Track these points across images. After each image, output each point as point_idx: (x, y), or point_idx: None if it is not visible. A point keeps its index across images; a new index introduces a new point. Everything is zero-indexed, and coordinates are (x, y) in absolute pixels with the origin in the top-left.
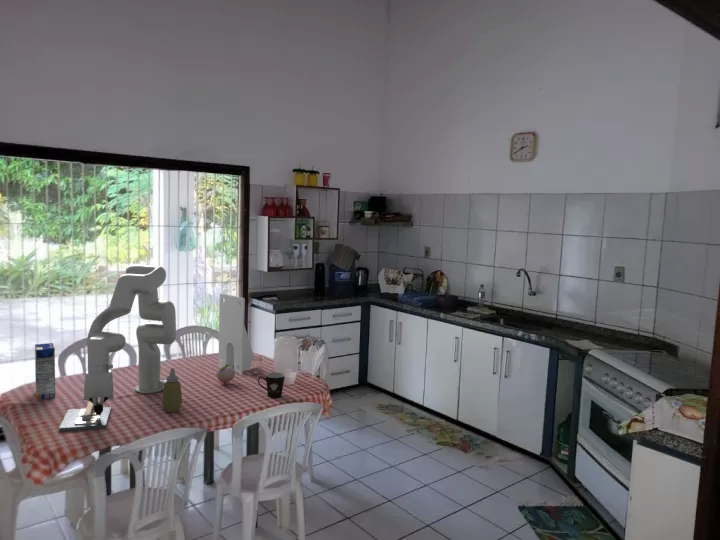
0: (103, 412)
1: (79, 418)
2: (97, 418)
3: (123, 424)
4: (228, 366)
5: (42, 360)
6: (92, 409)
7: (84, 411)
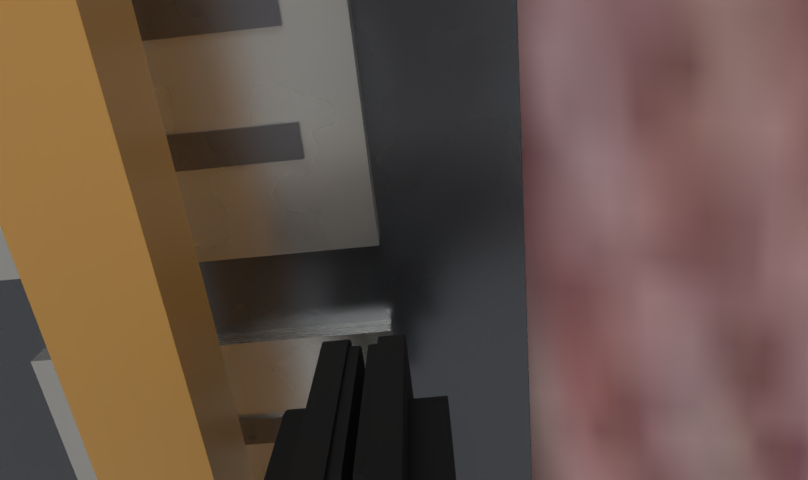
0: (400, 98)
1: None
2: None
3: (741, 452)
4: None
5: None
6: (199, 283)
7: None
